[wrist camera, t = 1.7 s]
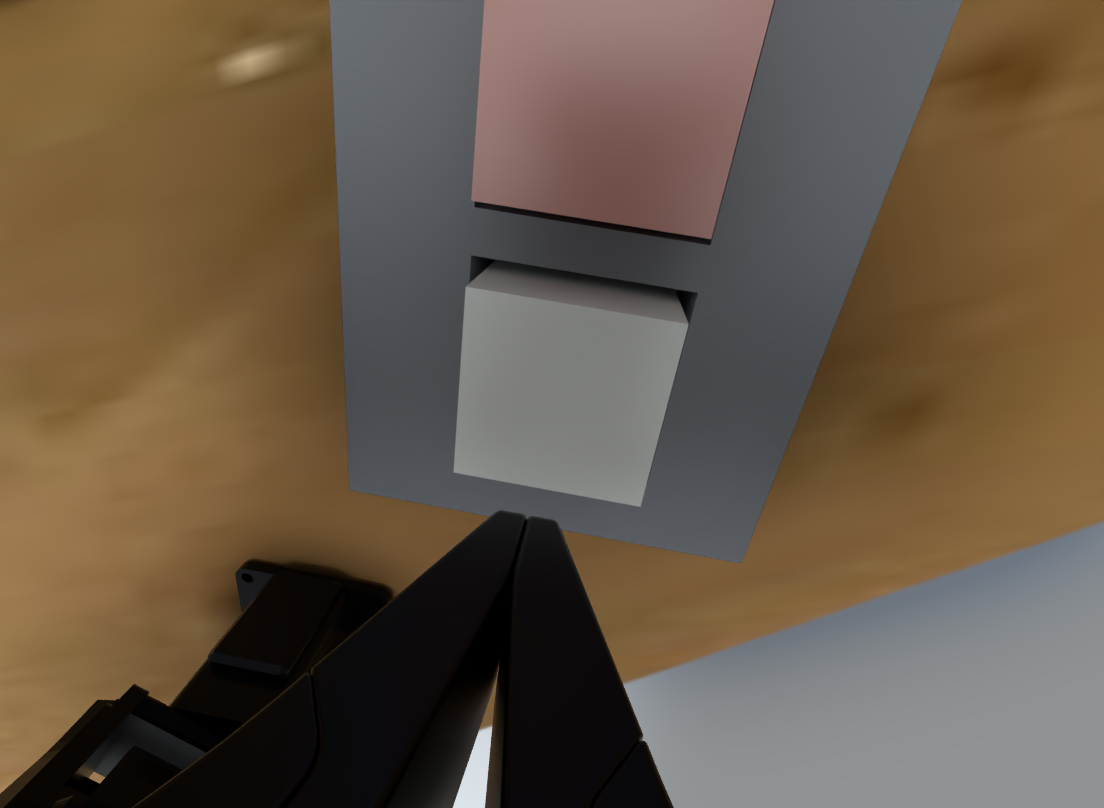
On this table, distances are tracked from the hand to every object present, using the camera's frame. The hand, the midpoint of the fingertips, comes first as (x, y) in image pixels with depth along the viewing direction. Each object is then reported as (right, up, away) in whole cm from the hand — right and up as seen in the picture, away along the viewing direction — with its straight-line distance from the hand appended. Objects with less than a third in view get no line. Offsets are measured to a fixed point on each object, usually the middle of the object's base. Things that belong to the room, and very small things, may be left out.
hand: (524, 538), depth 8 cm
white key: (+1, +3, +6) cm, 7 cm away
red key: (+2, +8, +4) cm, 9 cm away
